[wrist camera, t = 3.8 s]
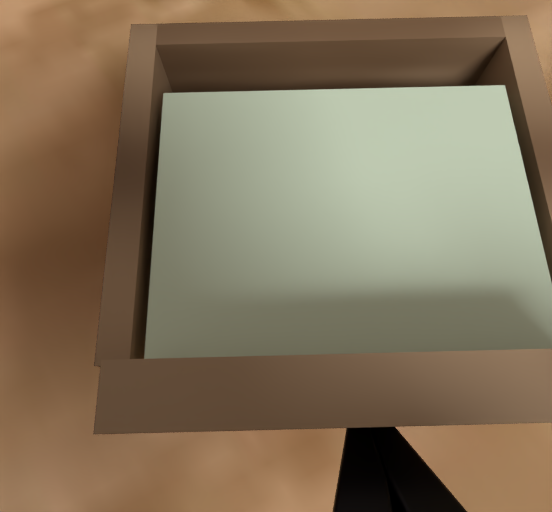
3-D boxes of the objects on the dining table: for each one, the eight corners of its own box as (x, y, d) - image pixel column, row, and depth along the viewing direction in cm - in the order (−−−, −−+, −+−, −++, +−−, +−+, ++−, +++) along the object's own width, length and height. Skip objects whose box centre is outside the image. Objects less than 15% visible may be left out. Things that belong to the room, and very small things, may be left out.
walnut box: (465, 369, 17) (620, 352, 9) (177, 377, 17) (94, 366, 9) (431, 159, 20) (527, 15, 13) (187, 165, 20) (131, 24, 13)
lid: (558, 410, 10) (682, 419, 7) (149, 420, 10) (93, 433, 7) (491, 103, 13) (558, 12, 10) (170, 110, 13) (135, 22, 10)
